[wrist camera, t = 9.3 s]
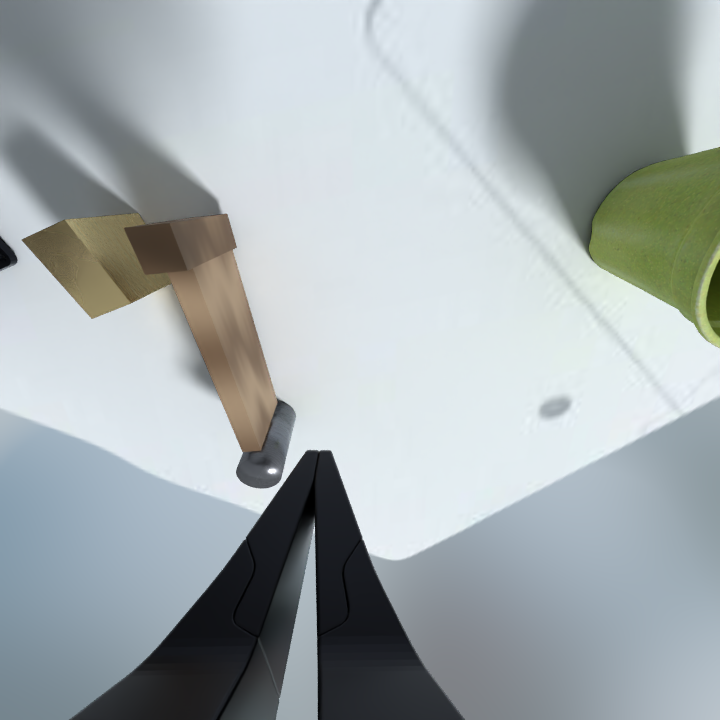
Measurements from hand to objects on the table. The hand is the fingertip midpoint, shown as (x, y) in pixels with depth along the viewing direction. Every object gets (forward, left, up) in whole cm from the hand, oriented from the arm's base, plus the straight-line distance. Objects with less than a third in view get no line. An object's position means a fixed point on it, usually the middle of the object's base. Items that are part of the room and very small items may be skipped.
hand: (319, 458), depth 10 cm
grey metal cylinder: (-8, -6, -12) cm, 16 cm away
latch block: (-9, +8, -12) cm, 18 cm away
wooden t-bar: (-6, +2, -12) cm, 13 cm away
